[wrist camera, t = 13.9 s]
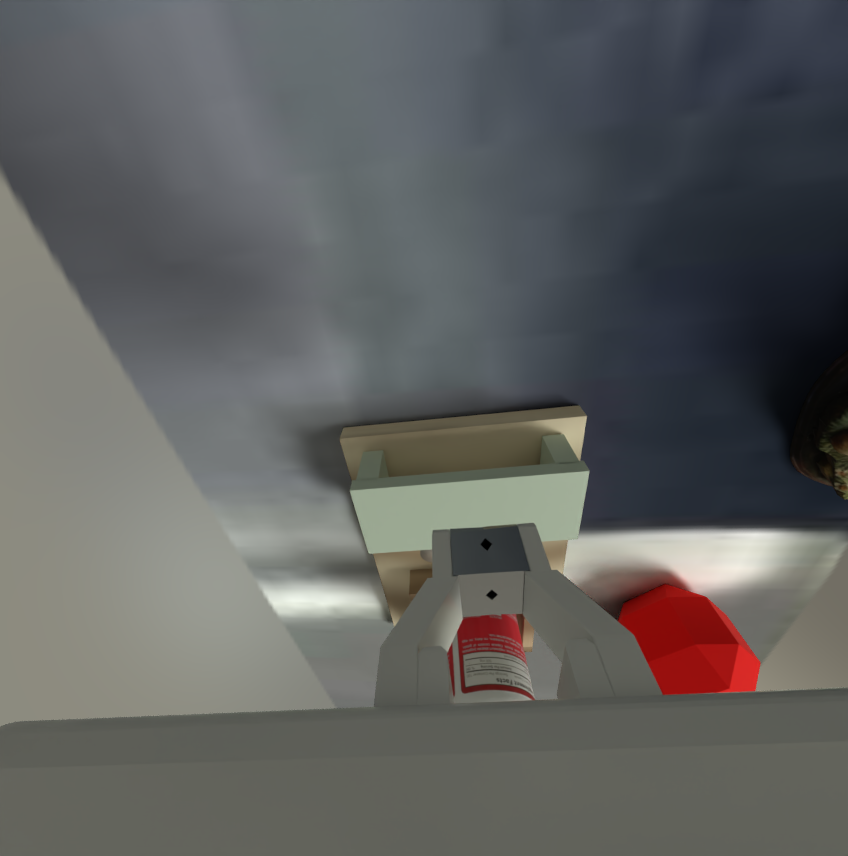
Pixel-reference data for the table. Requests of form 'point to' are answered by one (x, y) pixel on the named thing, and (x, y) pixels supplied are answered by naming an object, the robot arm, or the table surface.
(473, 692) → the pill bottle
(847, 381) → the figurine
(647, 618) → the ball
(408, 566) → the base
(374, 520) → the housing cover
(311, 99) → the table surface
